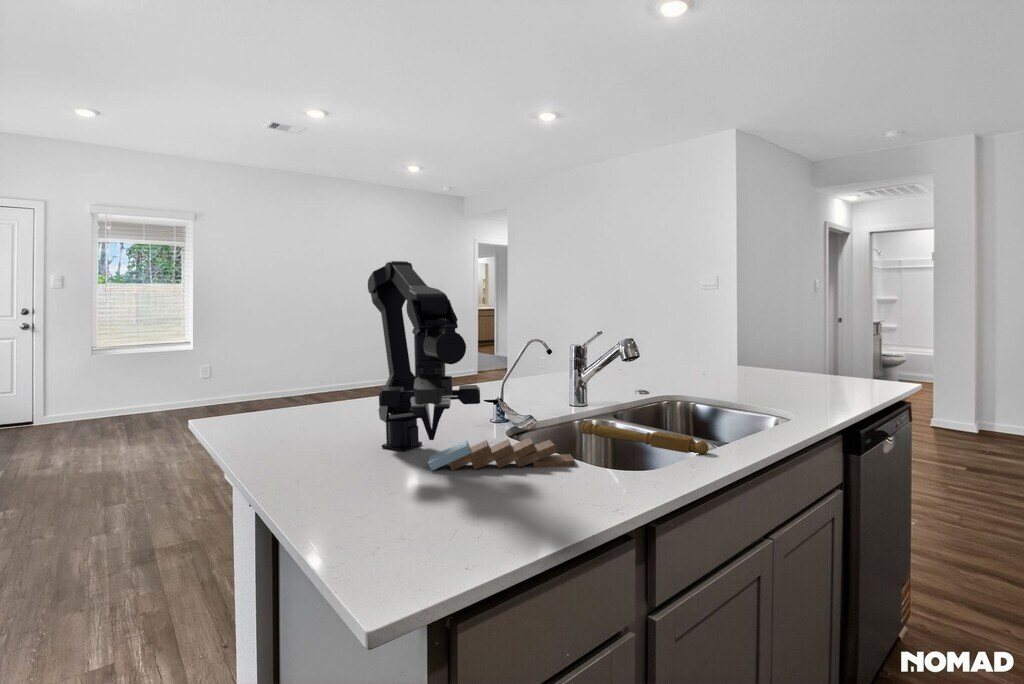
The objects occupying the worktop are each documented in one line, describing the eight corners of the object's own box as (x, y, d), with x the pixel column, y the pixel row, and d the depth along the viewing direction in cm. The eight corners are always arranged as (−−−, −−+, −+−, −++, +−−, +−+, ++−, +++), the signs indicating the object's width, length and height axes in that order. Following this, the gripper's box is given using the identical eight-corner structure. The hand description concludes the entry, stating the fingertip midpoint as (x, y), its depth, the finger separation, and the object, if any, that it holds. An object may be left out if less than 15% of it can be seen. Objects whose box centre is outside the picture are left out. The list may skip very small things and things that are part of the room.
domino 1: (427, 463, 106) (466, 445, 106) (429, 456, 110) (466, 440, 110) (431, 470, 106) (470, 453, 106) (432, 464, 110) (470, 447, 111)
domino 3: (471, 462, 106) (509, 444, 106) (471, 455, 111) (508, 438, 111) (474, 469, 106) (513, 452, 107) (474, 463, 111) (511, 446, 111)
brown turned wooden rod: (587, 420, 135) (710, 439, 116) (587, 432, 136) (710, 454, 116) (580, 422, 133) (705, 442, 114) (580, 435, 133) (704, 457, 114)
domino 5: (516, 459, 107) (554, 444, 108) (512, 454, 111) (549, 439, 112) (518, 467, 107) (557, 452, 108) (514, 461, 112) (551, 446, 113)
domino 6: (533, 462, 107) (574, 460, 108) (530, 455, 112) (570, 454, 113) (533, 470, 108) (574, 468, 108) (530, 463, 112) (570, 462, 113)
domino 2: (448, 463, 106) (487, 445, 106) (449, 456, 110) (486, 439, 111) (452, 470, 106) (490, 453, 106) (452, 463, 110) (489, 447, 111)
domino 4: (495, 461, 106) (533, 442, 107) (493, 454, 111) (529, 437, 111) (498, 468, 107) (536, 450, 107) (496, 461, 111) (532, 444, 112)
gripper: (372, 365, 97) (375, 453, 99) (480, 363, 99) (481, 449, 100) (382, 357, 109) (384, 437, 110) (478, 356, 110) (480, 434, 111)
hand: (431, 439), depth 108 cm, fingers closed
